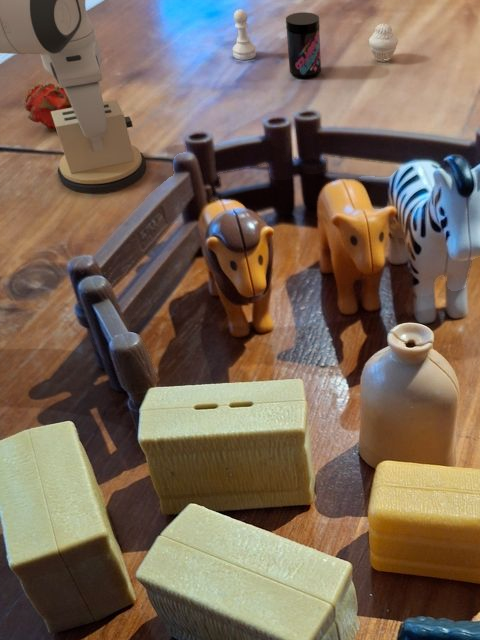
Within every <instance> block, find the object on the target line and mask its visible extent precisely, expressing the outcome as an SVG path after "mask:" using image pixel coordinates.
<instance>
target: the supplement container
mask: <svg viewBox="0 0 480 640" xmlns="http://www.w3.org/2000/svg"><path fill="white" fill-rule="evenodd" d="M285 28H286V39H287V41H286V42H287V53H288V54H287V55H288V68H289V73H290V74H291V76H292V77H294V78H297V79H301V80H308V79H314V78H316V77H318V76H319V75H320V73H321V71H322V61H321V60H322V59H321V36H320V35H321V34H320V32H321V31H320V28H321V26H320V17H319V15H317V14H315V13H312V12H307V11H305V12H304V11H303V12H302V11H301V12H294V13H291V14H289V15H287V16H286V17H285Z"/></svg>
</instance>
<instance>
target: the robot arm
mask: <svg viewBox="0 0 480 640" xmlns="http://www.w3.org/2000/svg"><path fill="white" fill-rule="evenodd" d="M88 15H89V14H88V13H87V7H86V0H0V54H11V55H39V56H40V59H41V62H42V66H43V68H44V69H45V71H46V72H48V73H49V74H50V75H51V76H52V77H53V78H54V79H55V80H56V82H57V84H58V86H59V88H63V89H64V91H65V93H66V95H67V97H68V99H69V101H70V104H71V106H72V108H73V111H74V113H75V116H76V118H77V120H78V123H79V125H80V127H81V130H82V132H83V134H84V135H85V137H86V138H90V141H91V145H92V148H93V150H94V151H95V152H98V151H103V150H104V146H103V142H102V135H106V134H107V122H106V116H105V110H104V104H103V102H104V99H103V94H102V89H101V88H102V87H101V84H100V82H102V81H103V77H102V76H103V75H102V72H101V63H102V56H101V53H100V49H99V45H98V41H97V37H96V34H95V29H94V26H93V22H92V21H91V19H90V17H89V16H88Z"/></svg>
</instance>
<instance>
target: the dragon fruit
mask: <svg viewBox="0 0 480 640" xmlns="http://www.w3.org/2000/svg"><path fill="white" fill-rule="evenodd" d="M33 87H34V88H30V89H28V91H27V94H26V96H25V97H24V101H25V103H24V105H23V107H24V108H25V110H26V111H27V112H29V113H28V119H29V120H30V121H32V122H34V123H41V124H42V125H43V126H45V127H46V128H47V129H48V130H49V131H50V133H54V132H55V131H56V127H55V124H54V121H53V118H52V114H51V111H56V110H62V109H67V108H72V106H71V104H70V101H69V99H68V97H67V95H66V93H65V91H64V89H63V88H62V87H60V86H59V85H57V86H56V85H55V84H54V83H48V84H41V83H37V84H35V85H34V86H33Z"/></svg>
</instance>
